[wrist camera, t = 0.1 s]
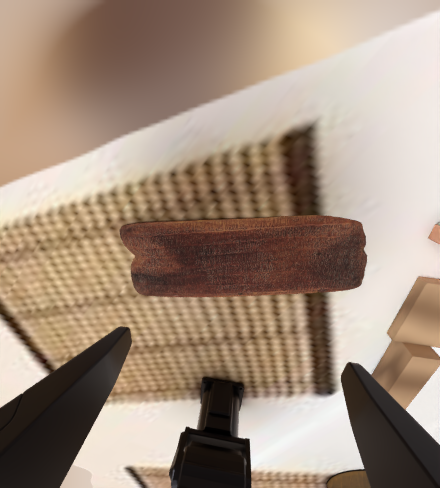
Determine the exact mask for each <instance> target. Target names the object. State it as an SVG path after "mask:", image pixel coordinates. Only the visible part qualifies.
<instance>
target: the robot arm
mask: <svg viewBox="0 0 440 488" xmlns="http://www.w3.org/2000/svg"><path fill="white" fill-rule="evenodd" d="M131 344H132V339H131V332H130V329H129V328H128V327H122V326H121V327H118V328H116V329H115V330H114V331H112V332H111V333H109V334H108V335H106V336H105V337H103V338H102V339H100V340H99V341H98V342H96V343H95V344H93V345H92V346H90V347H89V348H87V349H86V350H84V351H83V352H81V353H80V354H79V355H77V356H76V357H74V358H73V359H71V360H70V361H68V362H67V363H65V364H64V365H62V366H61V367H60V368H58V369H57V370H55V371H54V372H52V373H51V374H49V375H48V376H46V377H45V378H44V379H42V380H41V381H39V382H38V383H36V384H35V385H33V386H32V387H30V388H29V389H27V390H26V391H25V392H24V393H23V394H20V395H19V396H17V397H16V398H14V399H13V400H11V401H10V402H8V403H7V404H5V405H4V406H2V407H1V408H0V488H60V486H61V484H62V482H63V480H64V478H65V477H66V475H67V473H68V471H69V469H70V467H71V465H72V464H73V462H74V460H75V458H76V456H77V454H78V452H79V450H80V449H81V447H82V445H83V443H84V441H85V439H86V437H87V436H88V434H89V432H90V430H91V428H92V426H93V424H94V422H95V421H96V419H97V417H98V415H99V413H100V411H101V409H102V407H103V406H104V404H105V402H106V400H107V398H108V396H109V394H110V392H111V391H112V389H113V387H114V385H115V383H116V380H117V378H118V376H119V373H120V371H121V369H122V366H123V364H124V361H125V359H126V357H127V354H128V352H129V350H130V347H131ZM341 383H342V387H343V392H344V396H345V401H346V405H347V410H348V415H349V419H350V423H351V427H352V430H353V434H354V437H355V440H356V443H357V446H358V449H359V453H360V456H361V459H362V462H363V465H364V468H365V471H366V475H367V478H368V481H369V484H370V487H371V488H440V445H439V444H438V443H437V442H436V441H435V440H434V439H433V438H432V436H431V435H430V434H429V433H428V432H427V431H426V430H425V429H424V428H423V427H422V426H421V425H420V424H419V423H418V422H417V421H416V420H415V419H414V418H413V417H412V416H411V415H410V414H409V413H408V412H407V411H406V410H405V409H404V408H403V407H402V406H401V405H400V404H399V403H398V402H397V401H396V400H395V399H394V398H393V397H392V396H391V395H390V394H389V393H388V392H387V391H386V390H385V389H384V388H383V387H382V386H381V385H380V384H379V383H378V382H377V381H376V380H375V379H374V378H373V377H372V376H371V375H370V374H369V373H368V372H367V371H366V370H365V369H364V368H363V367H362V366H361V365H360V364H358V363H352V362H349V363H347V364H346V366H345V368H344V370H343V372H342V375H341ZM243 392H244V385H243V384H239V383H233V382H227V381H221V380H215V379H210V378H202V384H201V402H200V403H201V409H200V415H199V420H198V425H197V429H192V428H190V427H186V429H185V432H182V433H181V435H180V439H179V443H178V447H177V451H176V453H175V456H174V459H173V462H172V465H171V468H170V472H169V476H170V479H171V487H172V488H251V460H250V439H247V438H245V439H243V438H238V421H239V411H240V407H241V402H242V397H243Z"/></svg>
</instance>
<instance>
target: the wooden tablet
mask: <svg viewBox="0 0 440 488" xmlns="http://www.w3.org/2000/svg"><path fill="white" fill-rule="evenodd" d="M120 236H121V239H122V241H123V243H124V245H125V246H126V247H127V249H128V250H129V251H131V252H132V253H133V254H134V255H135V258H134V259H133V261H132V264H131V277H132V281H133V285H134V288H135V289H136V291H137V292H138V293H139V294H142V295H147V296H162V297H233V296H256V295H277V294H298V293H315V292H335V291H343V290H350V289H354V288H357V287H359V286H360V285H361V284H362V280H363V277H364V271H365V267H366V263H367V255H366V253H365V251H364V247H365V245H366V236H365V234H364V231H363V226H362V224H361V223H360V222H358V221H355V220H350V219H345V218H340V217H332V216H320V215H303V216H285V217H284V216H281V217H267V218H249V219H223V220H195V221H172V222H168V221H166V222H159V221H158V222H143V223H134V224H129V225H125V226H122V227H121V229H120Z"/></svg>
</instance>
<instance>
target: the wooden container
mask: <svg viewBox="0 0 440 488" xmlns="http://www.w3.org/2000/svg"><path fill="white" fill-rule="evenodd" d="M327 488H371V487H370V484H369V481H368V478H367V475H366V471H365V470H360V471H349V472H344V473H341V474H338V475H336V476H334V477H332V478H331V479H330V480H329V481H328V483H327Z"/></svg>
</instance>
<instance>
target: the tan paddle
mask: <svg viewBox="0 0 440 488" xmlns="http://www.w3.org/2000/svg"><path fill="white" fill-rule="evenodd" d="M387 334H388V335H389V337H390V338H391V339H392V341H391V343H390V345H389V347H388V348H387V350H386V352H385V353H384V355H383V357H382V358H381V360H380V362H379V363H378V365H377V367H376V369H375V370H374V372H373V374H372V375H371V376H372V377H373V378H374V379H375V380H376V381H377V382H378V383H379V384H380V385H381V386H382V387H383V388H384V389H385V390H386V391H387V392H388V393H389V394H390V395H391V396H392V397H393V398H394V399H395V400H396V401H397V402H398V403H399V404H400V405H401V406H402V407H403V408H404V409H406V408H407V407H408V405H409V404H410V403H411V402H412V400H413V399H414V398H415V396H416V395H417V394H418V393H419V391H420V390H421V389H422V388H423V386H424V385H425V384H426V382H427V381H428V380H429V379H430V377H431V376H432V375H433V373H434V372H435V371H436V370H437V368H438V367H439V366H440V357H439V356H438V354H437V353H436V352H435V351H434V350H433V349H432V348H431V347H438V348H440V279H434V278H426V277H418V279H417V280H416V282H415V284H414V286H413V287H412V289H411V291H410V293H409V294H408V296H407V298H406V300H405V302H404V303H403V305H402V307H401V309H400V310H399V312H398V314H397V316H396V318H395V319H394V321H393V323H392V325H391V326H390V328H389V330H388V332H387ZM430 346H431V347H430Z"/></svg>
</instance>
